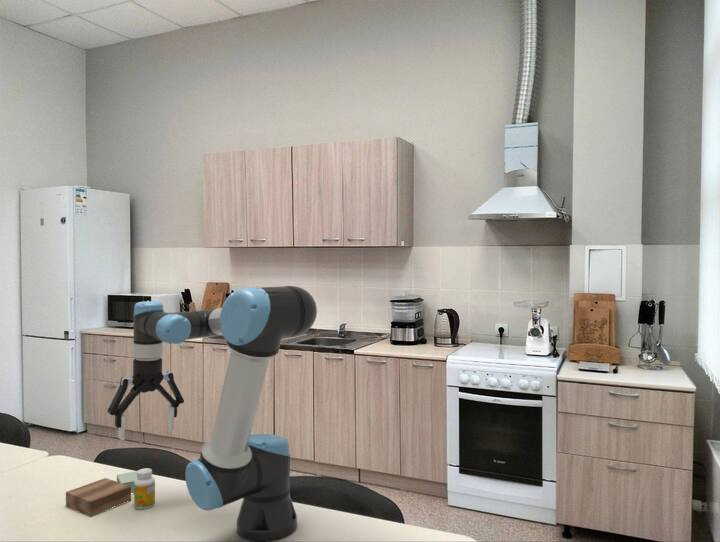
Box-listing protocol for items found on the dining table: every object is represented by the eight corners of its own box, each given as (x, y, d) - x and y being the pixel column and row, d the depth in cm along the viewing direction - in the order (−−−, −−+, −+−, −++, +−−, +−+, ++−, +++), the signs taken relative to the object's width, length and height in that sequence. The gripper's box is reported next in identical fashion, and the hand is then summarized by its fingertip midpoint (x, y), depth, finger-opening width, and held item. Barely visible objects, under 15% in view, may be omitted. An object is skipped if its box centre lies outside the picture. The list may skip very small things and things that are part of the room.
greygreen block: (150, 491, 167) (149, 477, 167) (121, 497, 163) (120, 483, 163) (144, 482, 174) (144, 469, 174) (116, 487, 170) (116, 474, 170)
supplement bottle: (130, 507, 156) (129, 472, 156) (145, 500, 161) (145, 466, 160) (143, 511, 153) (143, 475, 153) (159, 503, 158) (158, 469, 158)
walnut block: (131, 500, 160) (130, 486, 160) (91, 516, 150) (90, 501, 150) (105, 491, 167) (105, 477, 167) (66, 506, 157) (65, 492, 156)
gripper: (185, 350, 166) (184, 421, 167) (95, 360, 150) (94, 439, 151) (196, 355, 161) (195, 428, 162) (104, 365, 144) (103, 447, 145)
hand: (146, 433), depth 156 cm, fingers open, 13 cm apart
